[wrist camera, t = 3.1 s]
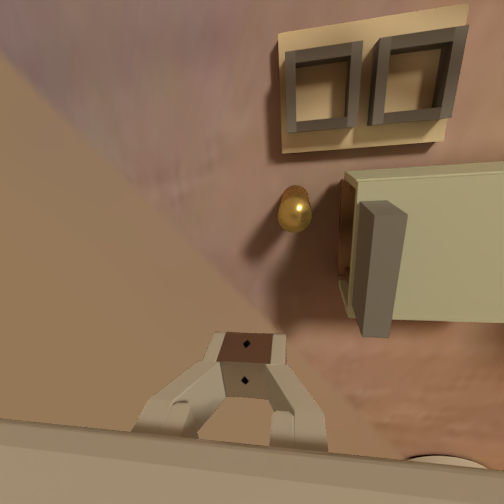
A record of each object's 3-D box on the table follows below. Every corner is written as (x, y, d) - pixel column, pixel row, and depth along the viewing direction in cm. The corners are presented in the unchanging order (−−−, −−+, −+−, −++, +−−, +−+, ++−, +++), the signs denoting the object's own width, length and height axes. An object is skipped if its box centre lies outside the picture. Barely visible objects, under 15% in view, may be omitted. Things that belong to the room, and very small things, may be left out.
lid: (514, 287, 23) (630, 366, 15) (338, 285, 25) (357, 352, 17) (560, 157, 18) (756, 171, 11) (344, 171, 21) (373, 190, 13)
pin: (308, 211, 24) (311, 232, 19) (282, 212, 24) (278, 232, 19) (308, 184, 23) (312, 198, 18) (281, 186, 24) (276, 200, 18)
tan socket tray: (437, 140, 20) (454, 141, 18) (282, 153, 22) (281, 154, 20) (460, 9, 17) (485, -10, 15) (279, 38, 19) (276, 25, 17)
